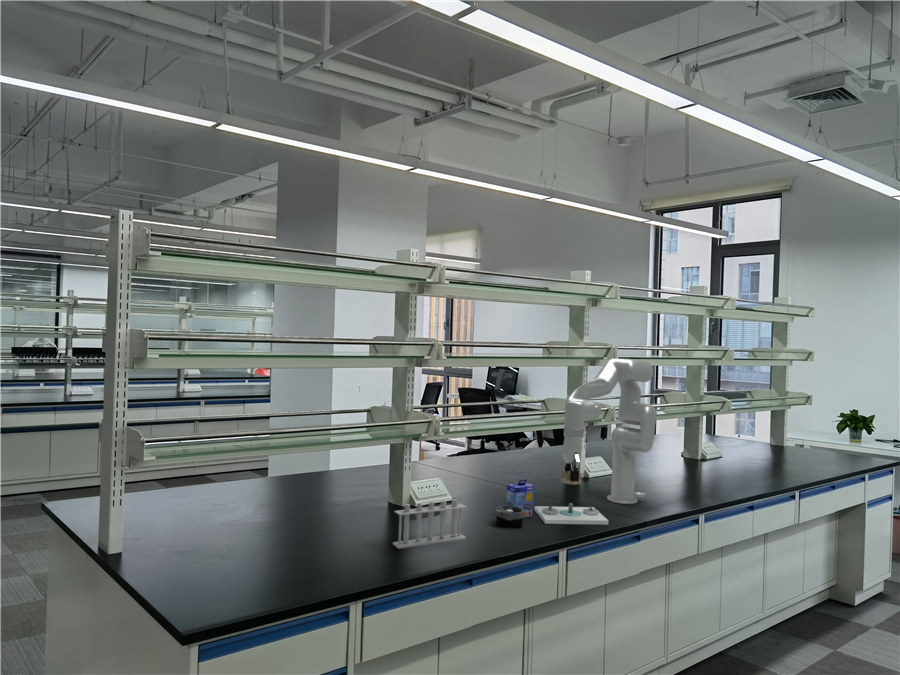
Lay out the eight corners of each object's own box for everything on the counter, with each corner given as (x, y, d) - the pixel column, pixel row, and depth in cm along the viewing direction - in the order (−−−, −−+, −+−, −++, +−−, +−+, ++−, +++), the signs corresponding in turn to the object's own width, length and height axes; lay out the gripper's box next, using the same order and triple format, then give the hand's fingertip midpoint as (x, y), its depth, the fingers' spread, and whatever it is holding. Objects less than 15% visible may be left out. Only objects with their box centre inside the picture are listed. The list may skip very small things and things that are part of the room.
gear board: (593, 511, 260) (594, 498, 260) (608, 524, 242) (608, 510, 242) (534, 510, 258) (535, 497, 258) (545, 523, 240) (545, 509, 240)
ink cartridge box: (513, 520, 243) (515, 481, 243) (504, 516, 248) (506, 478, 248) (533, 516, 249) (535, 478, 249) (524, 512, 253) (525, 475, 253)
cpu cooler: (523, 506, 243) (524, 513, 233) (522, 521, 243) (524, 529, 233) (495, 504, 243) (495, 511, 233) (494, 519, 243) (495, 527, 233)
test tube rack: (398, 549, 206) (400, 507, 206) (392, 544, 210) (394, 504, 210) (466, 539, 219) (467, 500, 218) (459, 535, 222) (461, 497, 222)
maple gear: (577, 480, 254) (578, 471, 254) (583, 484, 246) (583, 475, 246) (558, 479, 253) (559, 470, 253) (563, 484, 246) (564, 474, 246)
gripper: (558, 429, 258) (555, 473, 258) (570, 436, 241) (567, 483, 241) (576, 430, 259) (574, 474, 259) (590, 436, 241) (587, 484, 241)
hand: (571, 478), depth 250 cm, fingers closed on maple gear, 7 cm apart
